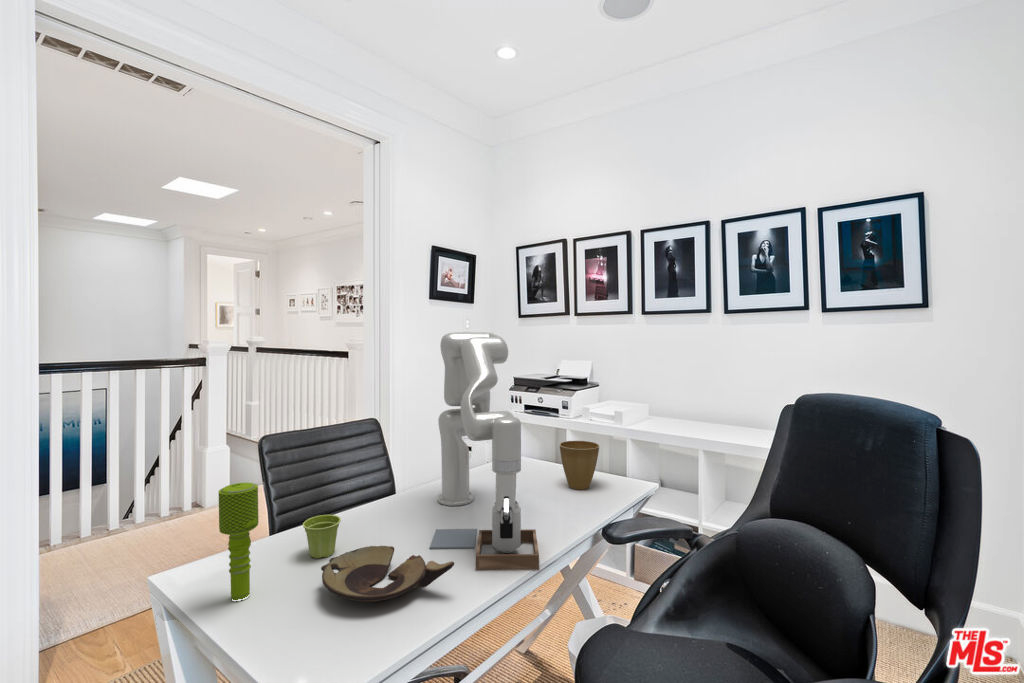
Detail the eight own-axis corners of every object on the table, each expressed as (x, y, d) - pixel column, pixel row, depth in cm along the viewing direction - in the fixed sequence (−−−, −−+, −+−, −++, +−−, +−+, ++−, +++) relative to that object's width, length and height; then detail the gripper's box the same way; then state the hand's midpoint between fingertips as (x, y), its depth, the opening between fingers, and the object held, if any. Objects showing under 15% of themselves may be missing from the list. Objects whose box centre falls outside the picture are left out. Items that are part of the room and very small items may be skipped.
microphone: (212, 603, 106) (209, 489, 105) (242, 585, 113) (240, 478, 112) (239, 610, 103) (237, 493, 102) (269, 592, 110) (267, 482, 109)
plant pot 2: (602, 493, 175) (602, 449, 175) (561, 493, 175) (561, 449, 175) (596, 480, 190) (595, 439, 190) (557, 480, 190) (557, 440, 190)
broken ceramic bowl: (374, 556, 127) (373, 527, 127) (466, 586, 112) (466, 554, 112) (297, 596, 108) (297, 562, 108) (397, 640, 93) (396, 600, 93)
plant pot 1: (348, 548, 132) (348, 517, 132) (324, 564, 123) (324, 530, 123) (320, 543, 135) (320, 512, 135) (295, 559, 126) (294, 525, 126)
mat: (436, 530, 143) (436, 529, 143) (476, 530, 143) (476, 528, 143) (429, 549, 131) (429, 547, 131) (474, 548, 131) (474, 546, 131)
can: (517, 555, 124) (517, 508, 123) (489, 552, 125) (489, 506, 124) (522, 542, 131) (523, 498, 130) (495, 539, 132) (495, 496, 132)
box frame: (479, 542, 135) (479, 529, 135) (535, 541, 135) (535, 529, 135) (475, 570, 119) (475, 556, 119) (539, 569, 120) (539, 555, 120)
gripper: (493, 455, 136) (493, 517, 136) (491, 475, 118) (491, 546, 119) (520, 455, 136) (519, 517, 136) (521, 475, 118) (521, 546, 119)
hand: (506, 530), depth 128 cm, fingers closed on can, 7 cm apart
